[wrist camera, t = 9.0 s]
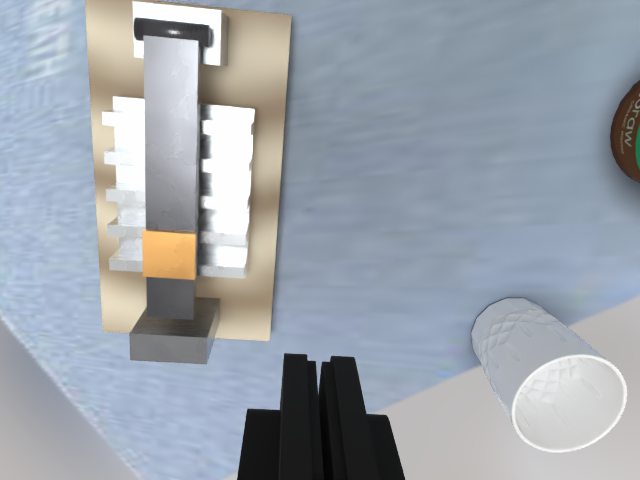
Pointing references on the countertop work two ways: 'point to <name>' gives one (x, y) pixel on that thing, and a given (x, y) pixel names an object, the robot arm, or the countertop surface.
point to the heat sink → (213, 202)
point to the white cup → (547, 377)
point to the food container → (627, 133)
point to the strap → (171, 163)
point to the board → (216, 88)
